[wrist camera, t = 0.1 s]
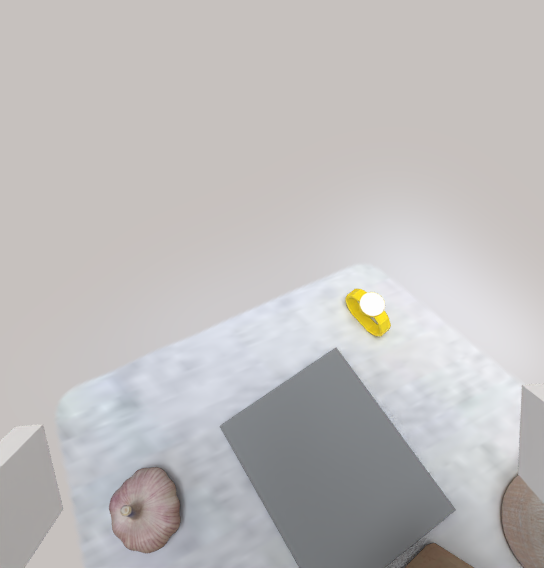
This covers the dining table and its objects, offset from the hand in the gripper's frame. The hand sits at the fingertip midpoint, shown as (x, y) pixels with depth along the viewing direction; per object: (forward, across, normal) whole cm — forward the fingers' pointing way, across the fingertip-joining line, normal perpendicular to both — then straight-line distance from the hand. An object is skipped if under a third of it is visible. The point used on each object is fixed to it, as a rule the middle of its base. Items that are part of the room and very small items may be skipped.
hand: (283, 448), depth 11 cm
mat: (+28, -4, +22) cm, 36 cm away
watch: (+38, -10, +9) cm, 40 cm away
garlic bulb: (+27, +15, +24) cm, 39 cm away
